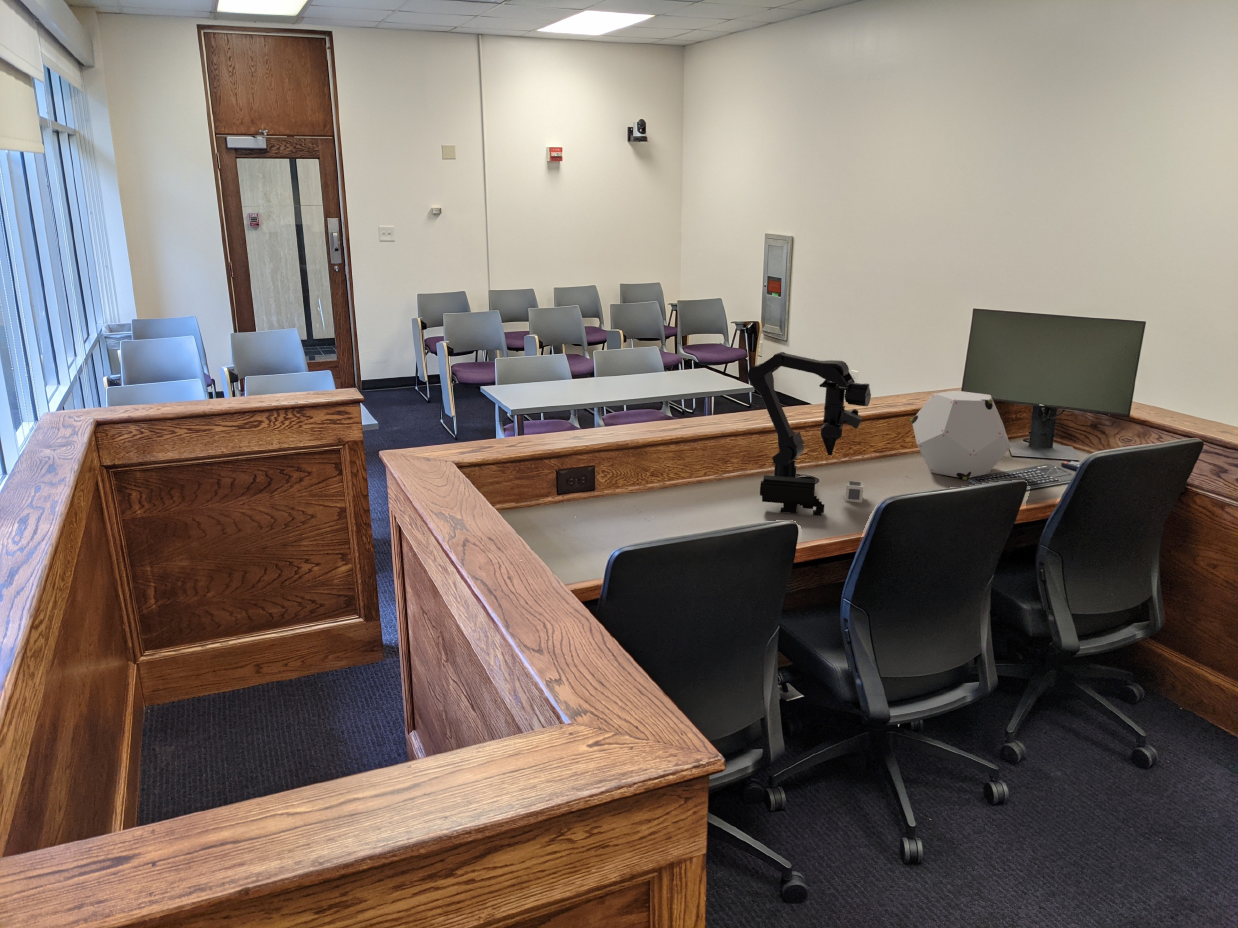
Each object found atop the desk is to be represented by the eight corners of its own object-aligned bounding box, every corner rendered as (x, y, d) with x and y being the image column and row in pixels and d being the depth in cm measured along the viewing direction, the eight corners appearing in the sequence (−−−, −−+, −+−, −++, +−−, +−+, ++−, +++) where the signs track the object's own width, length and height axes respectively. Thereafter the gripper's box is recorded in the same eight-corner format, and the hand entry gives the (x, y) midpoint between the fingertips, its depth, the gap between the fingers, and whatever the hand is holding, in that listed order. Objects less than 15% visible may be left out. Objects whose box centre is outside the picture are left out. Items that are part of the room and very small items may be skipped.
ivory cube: (844, 501, 265) (846, 485, 263) (845, 495, 270) (846, 480, 268) (862, 502, 264) (863, 486, 262) (862, 497, 268) (863, 481, 267)
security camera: (823, 518, 250) (826, 485, 247) (758, 513, 254) (760, 480, 251) (823, 510, 257) (826, 478, 254) (760, 505, 261) (762, 473, 258)
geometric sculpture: (967, 507, 281) (932, 432, 271) (916, 481, 309) (882, 412, 299) (1042, 456, 283) (1010, 379, 272) (984, 435, 311) (953, 364, 301)
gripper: (861, 411, 258) (856, 461, 263) (861, 397, 275) (857, 445, 280) (822, 408, 261) (818, 458, 265) (825, 395, 278) (821, 442, 283)
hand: (830, 451), depth 273 cm, fingers open, 9 cm apart
